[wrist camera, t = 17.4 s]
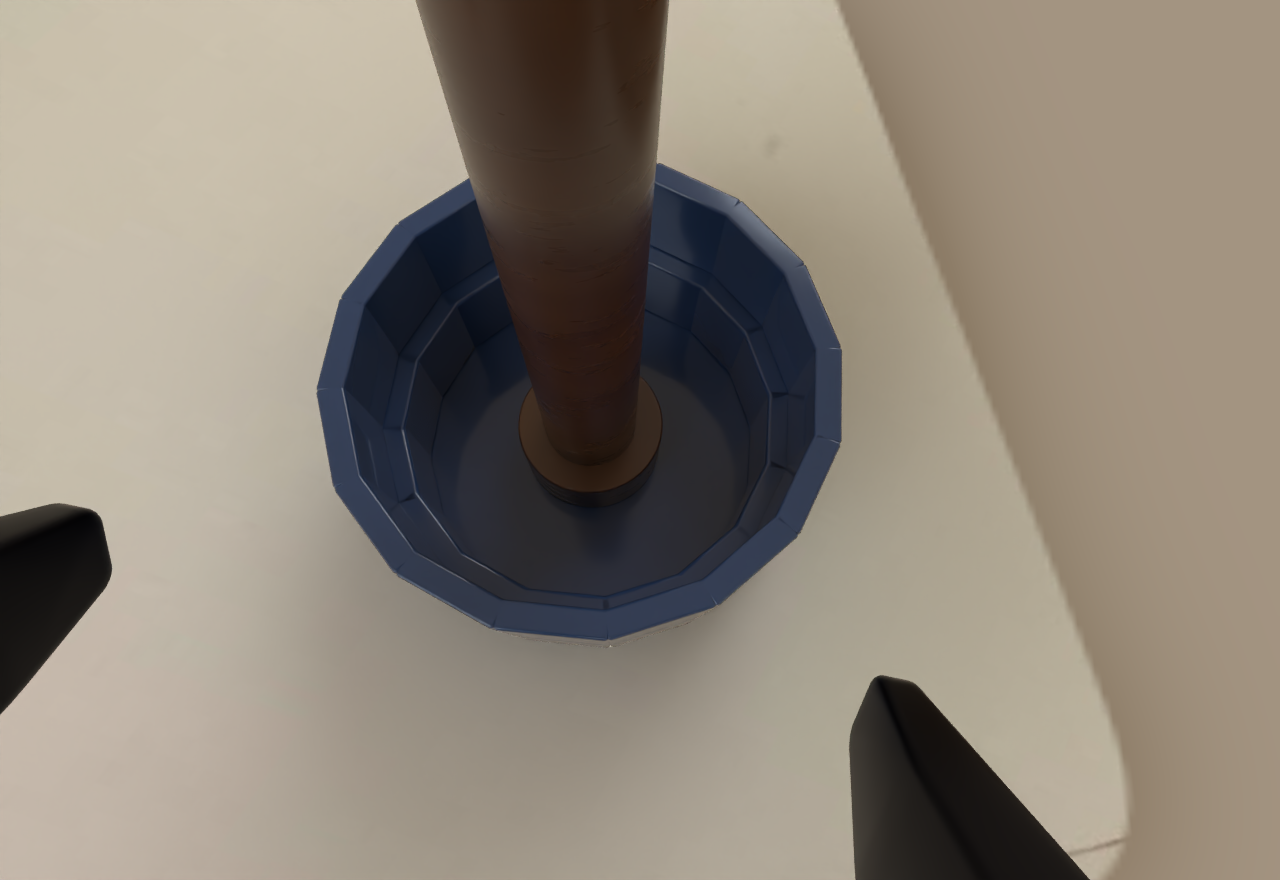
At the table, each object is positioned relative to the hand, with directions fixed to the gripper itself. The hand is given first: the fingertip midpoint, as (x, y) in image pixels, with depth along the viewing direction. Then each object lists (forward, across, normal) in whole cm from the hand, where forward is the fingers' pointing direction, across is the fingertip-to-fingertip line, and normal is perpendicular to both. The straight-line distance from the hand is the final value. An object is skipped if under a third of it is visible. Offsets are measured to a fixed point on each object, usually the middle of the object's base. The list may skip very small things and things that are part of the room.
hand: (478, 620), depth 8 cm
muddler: (+9, 0, +2) cm, 9 cm away
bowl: (+9, 0, +2) cm, 10 cm away
